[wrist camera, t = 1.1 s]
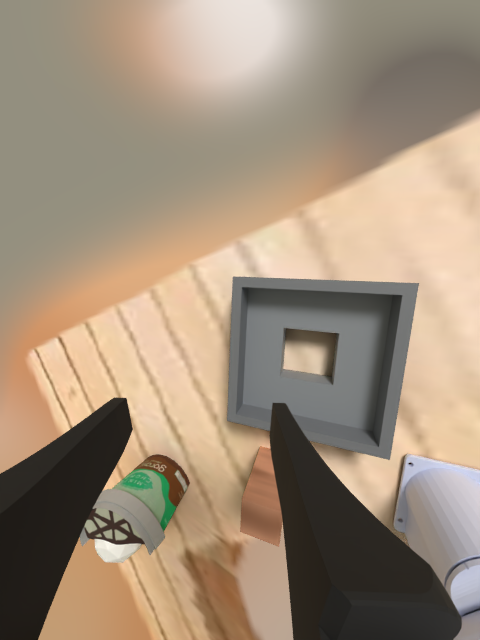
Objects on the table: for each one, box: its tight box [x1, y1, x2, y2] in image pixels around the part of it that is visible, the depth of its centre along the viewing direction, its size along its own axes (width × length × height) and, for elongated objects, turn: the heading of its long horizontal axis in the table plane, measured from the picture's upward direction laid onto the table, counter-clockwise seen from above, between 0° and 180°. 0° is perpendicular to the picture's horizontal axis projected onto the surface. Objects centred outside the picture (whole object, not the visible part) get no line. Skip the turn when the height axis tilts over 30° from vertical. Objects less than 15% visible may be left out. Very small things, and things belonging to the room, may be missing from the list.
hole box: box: [227, 277, 419, 460], centre depth 25 cm, size 16×16×5 cm
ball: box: [95, 539, 142, 562], centre depth 36 cm, size 8×8×8 cm
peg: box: [240, 446, 283, 546], centre depth 27 cm, size 4×4×8 cm
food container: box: [80, 455, 190, 555], centre depth 32 cm, size 12×6×10 cm, turn 107°
